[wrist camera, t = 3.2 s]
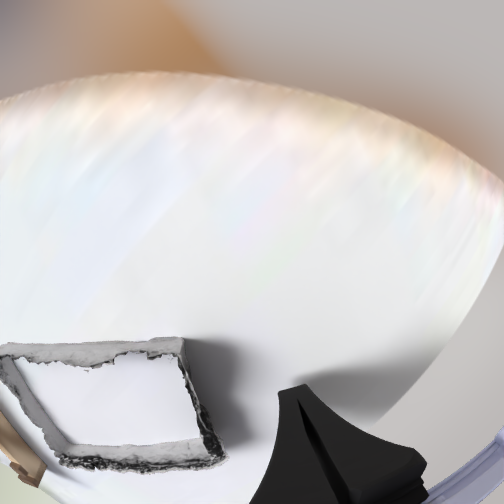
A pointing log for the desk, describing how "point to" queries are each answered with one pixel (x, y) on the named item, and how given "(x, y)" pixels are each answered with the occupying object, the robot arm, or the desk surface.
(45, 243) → the desk surface
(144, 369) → the desk surface
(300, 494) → the robot arm
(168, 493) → the desk surface
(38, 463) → the ledge
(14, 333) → the desk surface
